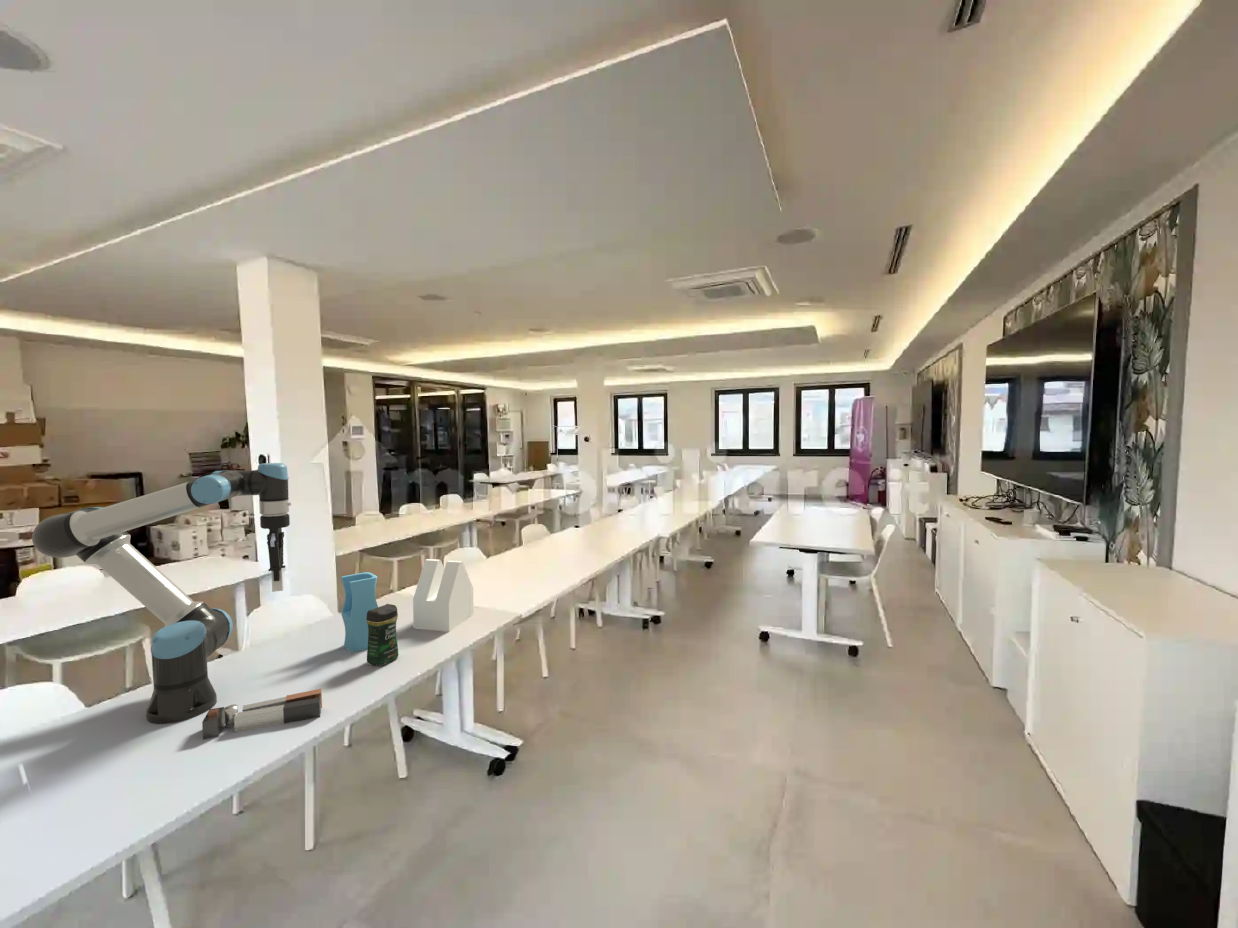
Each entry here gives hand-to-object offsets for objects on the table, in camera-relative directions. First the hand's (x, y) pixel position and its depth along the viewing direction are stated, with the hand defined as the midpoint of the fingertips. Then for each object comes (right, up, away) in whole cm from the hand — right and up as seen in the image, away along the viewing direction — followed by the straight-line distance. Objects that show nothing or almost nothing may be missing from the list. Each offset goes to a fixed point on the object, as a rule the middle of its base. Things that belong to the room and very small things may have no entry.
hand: (277, 590), depth 166 cm
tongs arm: (+11, -29, -19) cm, 37 cm away
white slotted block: (+34, -25, +53) cm, 68 cm away
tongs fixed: (+11, -30, -22) cm, 39 cm away
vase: (+12, -27, +29) cm, 41 cm away
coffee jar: (+25, -28, +17) cm, 41 cm away
